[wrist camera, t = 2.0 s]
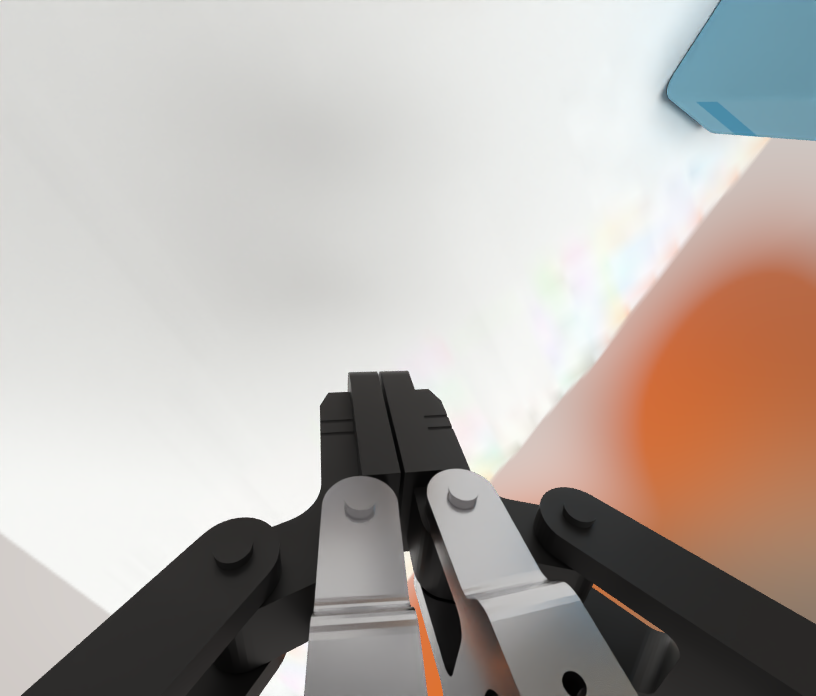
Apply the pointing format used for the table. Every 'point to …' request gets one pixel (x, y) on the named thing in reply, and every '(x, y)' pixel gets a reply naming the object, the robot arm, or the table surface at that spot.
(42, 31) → the table surface
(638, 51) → the table surface
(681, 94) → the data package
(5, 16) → the table surface
